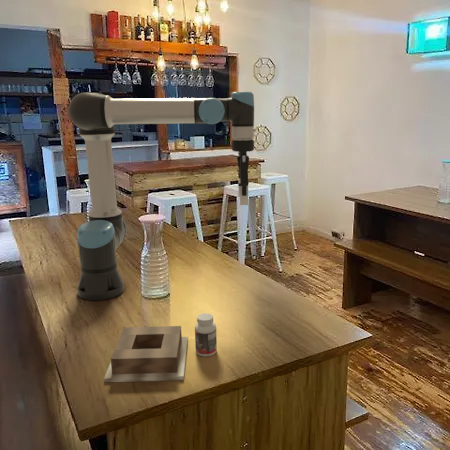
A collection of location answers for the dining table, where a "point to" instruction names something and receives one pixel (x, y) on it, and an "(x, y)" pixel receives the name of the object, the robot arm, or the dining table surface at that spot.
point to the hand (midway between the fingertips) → (243, 200)
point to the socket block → (148, 355)
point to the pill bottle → (205, 335)
